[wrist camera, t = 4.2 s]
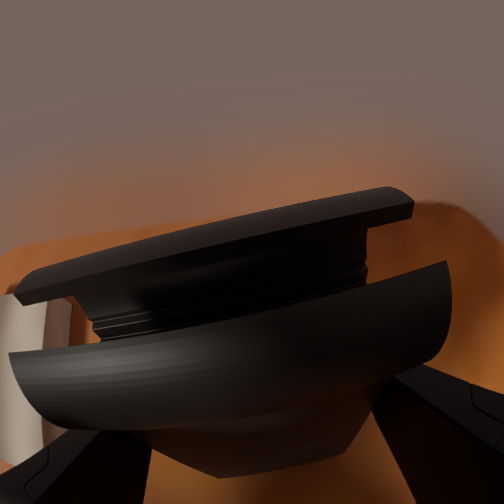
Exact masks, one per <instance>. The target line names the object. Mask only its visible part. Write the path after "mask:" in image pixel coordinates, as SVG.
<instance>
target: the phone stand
mask: <svg viewBox="0 0 504 504" xmlns="http://www.w3.org/2000/svg"><path fill="white" fill-rule="evenodd" d="M414 202H415V201H414V200H413V199H412V198H410V197H409V196H408V195H407V194H405V193H404V192H402V191H400V190H398V189H396V188H392V187H381V188H375V189H370V190H365V191H359V192H354V193H348V194H344V195H338V196H333V197H328V198H323V199H318V200H313V201H308V202H303V203H298V204H294V205H289V206H284V207H279V208H274V209H270V210H265V211H261V212H256V213H252V214H247V215H243V216H238V217H234V218H230V219H225V220H221V221H217V222H212V223H208V224H204V225H200V226H196V227H191V228H187V229H183V230H179V231H175V232H171V233H167V234H163V235H159V236H155V237H151V238H148V239H144V240H140V241H136V242H132V243H128V244H125V245H121V246H117V247H113V248H110V249H106V250H102V251H99V252H95V253H92V254H88V255H85V256H81V257H77V258H74V259H70V260H67V261H64V262H60V263H57V264H53V265H50V266H47V267H43V268H40V269H37V270H34V271H32V272H31V273H29V274H28V275H27V276H25V277H24V278H23V279H22V281H21V282H20V283H19V285H18V286H17V288H16V290H15V292H14V294H13V295H14V296H15V297H16V299H17V300H18V301H19V302H20V303H21V304H22V306H28V305H32V304H37V303H41V302H46V301H50V300H55V299H59V298H64V297H68V296H74V297H75V298H76V299H77V301H78V302H79V304H80V305H81V307H82V308H83V310H84V312H85V314H86V316H87V318H88V320H90V321H92V322H93V326H92V330H93V331H94V332H95V333H96V334H97V335H98V336H99V337H100V338H101V341H100V342H99V343H92V344H85V345H77V346H69V347H61V348H52V349H42V350H32V351H22V352H10V353H8V355H9V360H10V364H11V367H12V370H13V373H14V376H15V379H16V381H17V383H18V385H19V387H20V389H21V391H22V393H23V394H24V396H25V398H26V399H27V401H28V402H29V403H30V405H31V406H32V407H33V408H34V409H35V410H36V411H37V412H38V413H39V414H40V415H41V416H42V417H43V418H44V419H46V420H47V421H48V422H50V423H52V424H54V425H56V426H58V427H61V428H65V429H76V430H120V431H122V432H123V433H125V434H127V435H129V436H130V437H132V438H134V439H135V440H137V441H139V442H141V443H143V444H144V445H146V446H148V447H150V448H152V449H154V450H156V451H158V452H160V453H162V454H164V455H166V456H168V457H170V458H172V459H174V460H176V461H178V462H180V463H182V464H185V465H187V466H189V467H191V468H194V469H196V470H198V471H201V472H203V473H206V474H208V475H211V476H213V477H216V478H218V479H221V478H230V477H237V476H245V475H251V474H257V473H263V472H269V471H274V470H279V469H284V468H288V467H293V466H297V465H301V464H306V463H309V462H313V461H317V460H321V459H324V458H328V457H331V456H334V455H338V454H341V453H344V452H345V451H346V450H347V448H348V447H349V445H350V444H351V442H352V441H353V439H354V438H355V436H356V435H357V433H358V432H359V430H360V428H361V427H362V425H363V424H364V422H365V420H366V419H367V417H368V415H369V414H370V412H371V408H372V406H373V404H374V403H375V401H376V399H377V398H378V396H379V395H380V393H381V392H382V390H383V389H384V387H385V385H386V384H387V382H388V380H389V378H390V377H392V376H394V375H397V374H399V373H402V372H404V371H407V370H409V369H412V368H414V367H416V366H419V365H421V364H423V363H425V362H428V361H430V360H431V359H433V358H434V357H435V356H436V355H437V354H438V352H439V351H440V350H441V348H442V346H443V344H444V342H445V340H446V337H447V334H448V331H449V326H450V321H451V312H452V290H451V281H450V275H449V270H448V265H447V261H446V260H445V261H442V262H439V263H436V264H433V265H430V266H427V267H424V268H421V269H418V270H414V271H411V272H408V273H405V274H402V275H398V276H395V277H392V278H389V279H385V280H382V281H379V282H375V283H372V284H367V283H366V278H367V273H368V268H367V266H366V264H365V260H366V258H367V253H366V239H367V230H368V228H372V227H376V226H380V225H385V224H389V223H393V222H397V221H402V220H406V219H410V218H411V217H412V212H413V207H414Z"/></svg>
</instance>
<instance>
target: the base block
mask: <svg viewBox="0 0 504 504" xmlns="http://www.w3.org/2000/svg"><path fill="white" fill-rule="evenodd" d="M71 312H72V304H71V303H69V302H68V301H66V300H65V299H63V298H59V299H55V300H50V301H46V302H41V303H37V304H32V305H28V306H22V304H21V303H20V302H19V301H18V300H17V299H16V297H15V296H14V295H13V294H7V295H0V460H3V461H5V462H7V463H9V464H12V465H14V466H17V465H18V464H20V463H22V462H23V461H25V460H26V459H28V458H30V457H31V456H32V455H34V454H35V453H37V452H38V451H40V450H41V449H42V448H44V447H45V446H47V445H49V444H50V443H51V442H52V441H54V440H55V439H56V438H58V437H59V436H60V435H62V434H63V433H64V432H66V431H67V430H68V429H65V428H61V427H58V426H56V425H54V424H52V423H50V422H48V421H47V420H46V419H44V418H43V417H42V416H41V415H40V414H39V413H38V412H37V411H36V410H35V409H34V408H33V407H32V406H31V405H30V403H29V402H28V401H27V399H26V398H25V396H24V394H23V393H22V391H21V389H20V387H19V385H18V383H17V381H16V379H15V376H14V373H13V370H12V367H11V364H10V360H9V355H8V353H10V352H22V351H32V350H42V349H52V348H61V347H69V334H70V322H71Z"/></svg>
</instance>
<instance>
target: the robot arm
mask: <svg viewBox="0 0 504 504" xmlns="http://www.w3.org/2000/svg"><path fill="white" fill-rule="evenodd" d="M371 410H372V412H373V415H374V418H375V420H376V422H377V424H378V426H379V428H380V430H381V432H382V434H383V436H384V438H385V440H386V442H387V444H388V446H389V448H390V450H391V452H392V454H393V456H394V458H395V460H396V462H397V464H398V466H399V468H400V470H401V472H402V474H403V476H404V478H405V480H406V482H407V484H408V486H409V488H410V491H411V493H412V495H413V497H414V499H415V501H416V503H417V504H504V394H501V393H497V392H494V391H491V390H488V389H486V388H483V387H480V386H477V385H475V384H472V383H471V384H470V383H469V382H467V381H464V380H461V379H459V378H456V377H454V376H451V375H449V374H446V373H444V372H441V371H439V370H436V369H434V368H431V367H429V366H426V365H424V364H421V365H419V366H416V367H414V368H412V369H409V370H407V371H404V372H402V373H399V374H397V375H394V376H392V377H390V378H389V380H388V382H387V384H386V385H385V387H384V389H383V390H382V392H381V393H380V395H379V396H378V398H377V399H376V401H375V403H374V404H373V406H372V408H371ZM151 453H152V448H150V447H148V446H146V445H144V444H143V443H141V442H139V441H137V440H135V439H134V438H132V437H130V436H129V435H127V434H125V433H123V432H122V431H120V430H76V429H68V430H67V431H66V432H64V433H63V434H62V435H60V436H59V437H58V438H56V439H55V440H54V441H52V442H51V443H50V444H49V445H47V446H45V447H44V448H42V449H41V450H40V451H38V452H37V453H35V454H34V455H32V456H31V457H30V458H28V459H26V460H25V461H23V462H22V463H20V464H18V465H17V466H15V467H13V468H11V469H10V470H8V471H6V472H4V473H3V474H1V475H0V504H143V501H144V495H145V488H146V482H147V476H148V471H149V465H150V459H151Z"/></svg>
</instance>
